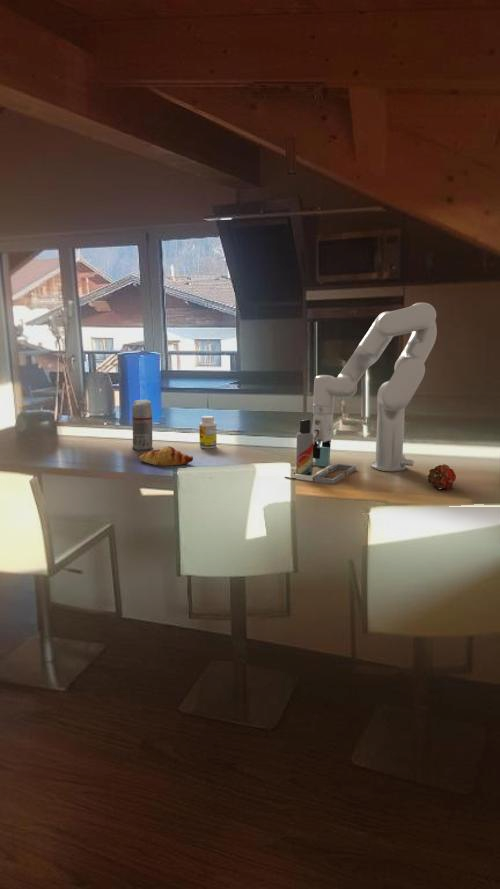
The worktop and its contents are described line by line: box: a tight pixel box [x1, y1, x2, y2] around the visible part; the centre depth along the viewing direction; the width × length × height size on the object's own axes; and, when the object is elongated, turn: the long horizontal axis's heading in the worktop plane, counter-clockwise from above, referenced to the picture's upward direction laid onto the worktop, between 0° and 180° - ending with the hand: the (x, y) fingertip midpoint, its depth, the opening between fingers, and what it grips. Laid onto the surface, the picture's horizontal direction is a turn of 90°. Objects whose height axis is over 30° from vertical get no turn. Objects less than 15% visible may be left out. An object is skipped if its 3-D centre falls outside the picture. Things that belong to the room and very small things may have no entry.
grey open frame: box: [313, 463, 357, 485], centre depth 234 cm, size 7×22×2 cm, turn 152°
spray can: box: [131, 398, 153, 451], centre depth 274 cm, size 8×8×20 cm
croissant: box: [138, 445, 194, 467], centre depth 251 cm, size 21×10×8 cm
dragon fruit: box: [427, 463, 457, 489], centre depth 218 cm, size 8×8×12 cm
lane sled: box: [294, 446, 337, 482], centre depth 237 cm, size 10×22×7 cm, turn 152°
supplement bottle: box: [199, 415, 217, 450], centre depth 277 cm, size 7×7×13 cm
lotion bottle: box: [295, 418, 314, 476], centre depth 231 cm, size 6×6×20 cm
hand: (320, 455), depth 246 cm, fingers open, 9 cm apart
